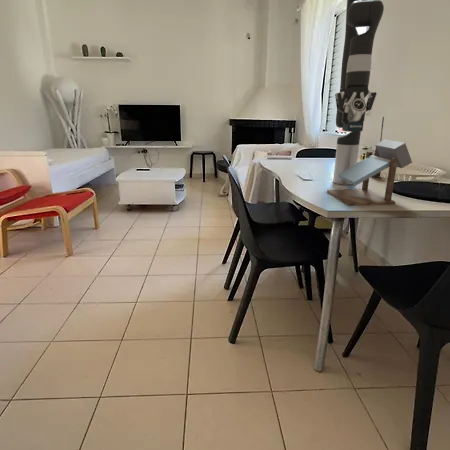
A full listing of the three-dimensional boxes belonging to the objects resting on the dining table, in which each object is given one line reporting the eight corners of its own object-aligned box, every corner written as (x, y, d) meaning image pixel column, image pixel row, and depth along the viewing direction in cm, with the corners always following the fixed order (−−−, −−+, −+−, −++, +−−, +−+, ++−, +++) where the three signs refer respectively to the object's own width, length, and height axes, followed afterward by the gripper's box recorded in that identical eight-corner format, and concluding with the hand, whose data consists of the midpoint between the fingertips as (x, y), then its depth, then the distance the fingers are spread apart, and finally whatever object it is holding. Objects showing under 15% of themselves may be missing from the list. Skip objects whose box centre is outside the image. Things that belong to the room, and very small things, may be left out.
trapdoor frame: (367, 190, 135) (372, 151, 129) (394, 204, 116) (402, 158, 111) (326, 192, 134) (330, 152, 128) (348, 205, 115) (354, 159, 109)
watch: (349, 131, 113) (353, 97, 109) (340, 130, 120) (343, 98, 116) (365, 131, 113) (369, 97, 109) (355, 129, 121) (358, 97, 117)
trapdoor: (390, 157, 128) (383, 139, 125) (413, 162, 115) (406, 142, 112) (342, 184, 130) (334, 167, 127) (358, 193, 117) (350, 174, 114)
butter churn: (387, 178, 157) (397, 117, 147) (365, 177, 160) (374, 117, 150) (385, 175, 165) (394, 116, 155) (364, 174, 168) (372, 116, 158)
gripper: (373, 71, 114) (366, 122, 120) (333, 72, 113) (328, 123, 119) (384, 69, 107) (377, 124, 113) (342, 69, 106) (336, 124, 112)
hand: (352, 123), depth 116 cm, fingers closed on watch, 5 cm apart
